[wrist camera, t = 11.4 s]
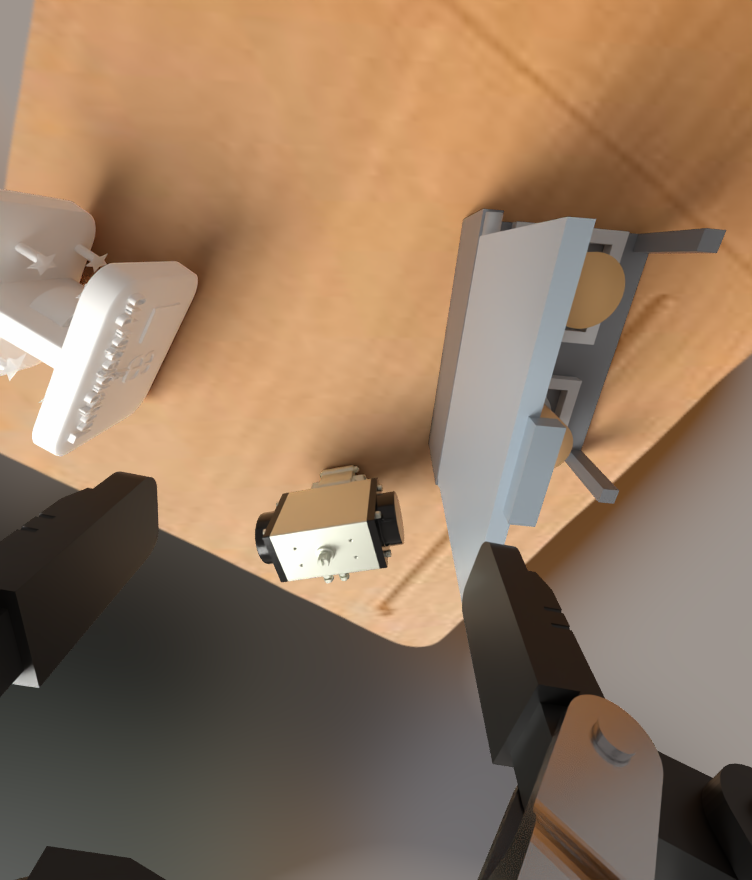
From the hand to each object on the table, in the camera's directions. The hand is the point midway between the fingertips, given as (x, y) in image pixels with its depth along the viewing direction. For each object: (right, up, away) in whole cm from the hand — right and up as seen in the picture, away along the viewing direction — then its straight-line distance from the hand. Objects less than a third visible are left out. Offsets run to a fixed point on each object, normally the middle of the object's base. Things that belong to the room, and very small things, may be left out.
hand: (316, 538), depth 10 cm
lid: (+8, +4, +10) cm, 13 cm away
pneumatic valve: (-2, -2, +31) cm, 31 cm away
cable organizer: (-21, +13, +25) cm, 35 cm away
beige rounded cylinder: (+15, +14, +21) cm, 29 cm away
